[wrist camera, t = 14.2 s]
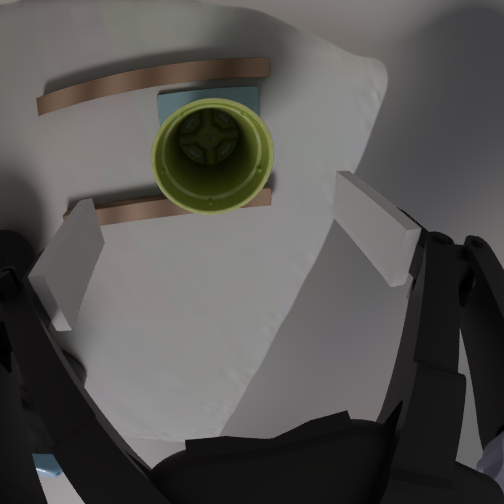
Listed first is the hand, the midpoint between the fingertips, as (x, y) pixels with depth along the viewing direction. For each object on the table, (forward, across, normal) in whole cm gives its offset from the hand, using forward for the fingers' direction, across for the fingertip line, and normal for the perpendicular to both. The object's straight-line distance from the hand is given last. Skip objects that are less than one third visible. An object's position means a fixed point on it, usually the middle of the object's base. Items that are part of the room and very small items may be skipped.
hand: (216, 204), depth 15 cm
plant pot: (+17, 0, 0) cm, 17 cm away
